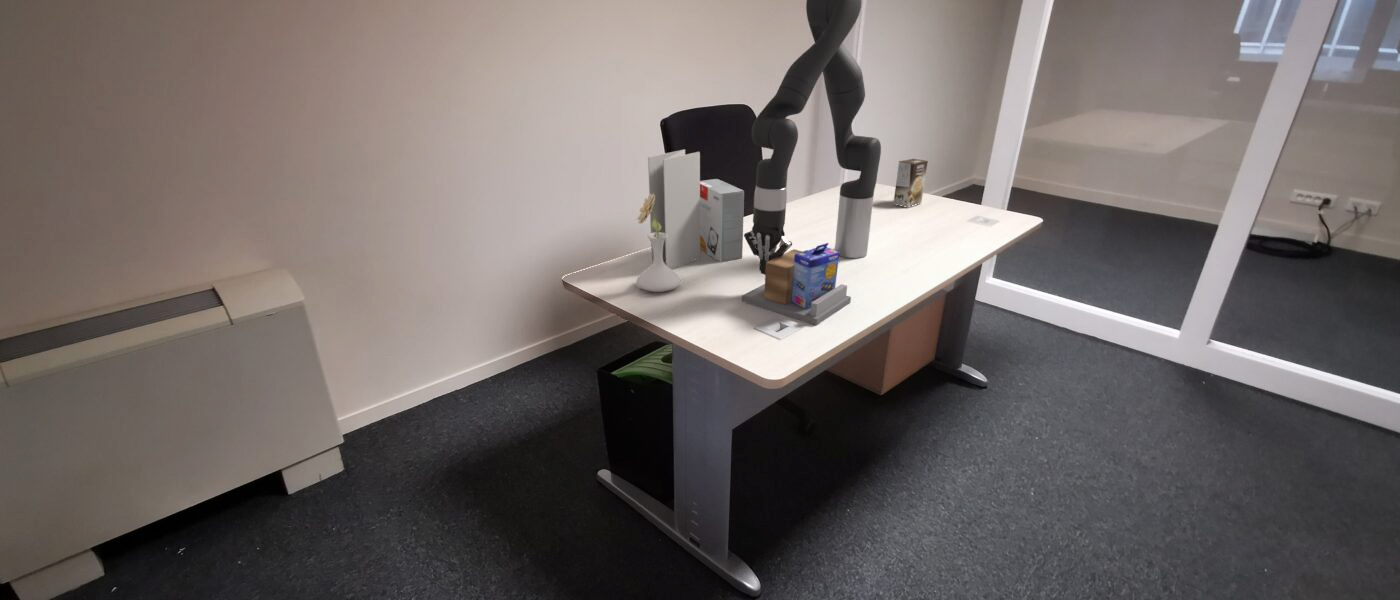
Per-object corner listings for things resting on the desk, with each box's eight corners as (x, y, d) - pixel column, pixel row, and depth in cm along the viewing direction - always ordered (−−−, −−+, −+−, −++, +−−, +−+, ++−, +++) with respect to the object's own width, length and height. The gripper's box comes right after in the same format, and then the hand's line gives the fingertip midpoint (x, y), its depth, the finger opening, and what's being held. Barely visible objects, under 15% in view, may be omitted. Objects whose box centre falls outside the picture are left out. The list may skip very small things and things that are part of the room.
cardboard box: (791, 283, 156) (793, 249, 152) (812, 289, 153) (815, 254, 149) (764, 298, 148) (765, 262, 144) (785, 304, 144) (787, 268, 140)
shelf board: (778, 281, 161) (779, 265, 159) (850, 302, 149) (852, 285, 147) (741, 301, 150) (742, 284, 148) (816, 325, 138) (818, 306, 136)
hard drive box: (695, 246, 187) (694, 181, 179) (717, 243, 190) (718, 178, 182) (720, 263, 174) (721, 192, 166) (743, 258, 177) (745, 189, 169)
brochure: (685, 253, 181) (684, 149, 169) (700, 257, 178) (700, 151, 166) (651, 267, 171) (648, 157, 159) (666, 271, 168) (664, 160, 156)
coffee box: (907, 208, 225) (914, 164, 219) (892, 204, 230) (898, 161, 223) (921, 204, 230) (928, 160, 224) (906, 200, 235) (912, 157, 228)
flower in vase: (642, 277, 164) (638, 183, 154) (685, 280, 162) (684, 185, 152) (629, 297, 152) (624, 197, 142) (675, 300, 150) (672, 199, 140)
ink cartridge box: (806, 310, 141) (811, 250, 136) (789, 302, 145) (793, 243, 140) (836, 299, 147) (841, 241, 141) (818, 292, 151) (823, 235, 145)
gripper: (802, 207, 144) (796, 276, 152) (756, 196, 152) (752, 262, 159) (785, 214, 139) (779, 285, 146) (737, 202, 147) (734, 270, 154)
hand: (765, 273), depth 153 cm, fingers closed
